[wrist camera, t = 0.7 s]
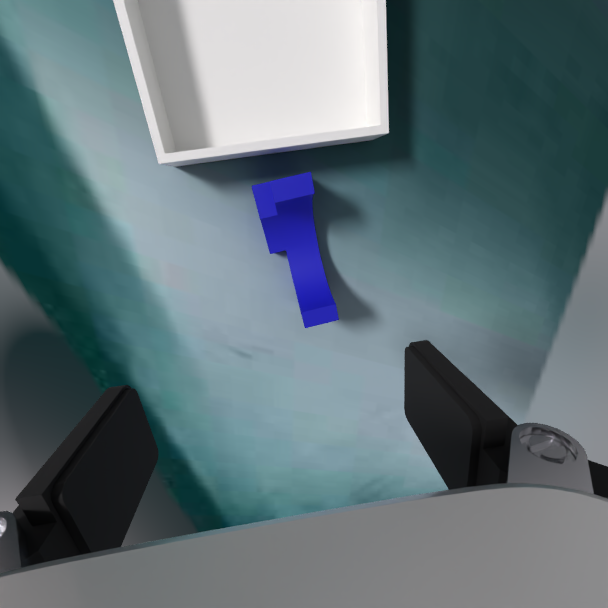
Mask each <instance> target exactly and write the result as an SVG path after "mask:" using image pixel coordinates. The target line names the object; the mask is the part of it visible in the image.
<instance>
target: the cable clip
mask: <svg viewBox="0 0 608 608" xmlns="http://www.w3.org/2000/svg"><path fill="white" fill-rule="evenodd" d="M252 190H253V194H254V197H255V201H256V205H257V209H258V213H259V216H260V220H261V223H262V227H263V230H264V233H265V237H266V240H267V244H268V248H269V251H270V254H272V253H277V252H281V251H285V250H286V253H287V257H288V261H289V265H290V269H291V274H292V278H293V282H294V286H295V290H296V294H297V299H298V303H299V307H300V311H301V314H302V318H303V322H304V326H305V328H308V327H312V326H316V325H320V324H324V323H328V322H332V321H336V320H339V318H338V313H337V308H336V304H335V302H334V299H333V297H332V294H331V292H330V289H329V286H328V283H327V279H326V276H325V272H324V269H323V265H322V261H321V256H320V252H319V247H318V242H317V237H316V231H315V225H314V218H313V207H312V199H313V194H315V192H314V187H313V181H312V176H311V172H307V173H303V174H299V175H295V176H290V177H286V178H282V179H277V180H273V181H270V182H266V183H262V184H257V185H253V186H252Z"/></svg>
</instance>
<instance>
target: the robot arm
mask: <svg viewBox="0 0 608 608" xmlns="http://www.w3.org/2000/svg"><path fill="white" fill-rule="evenodd" d="M404 409H405V415H406V418H407V420H408V422H409V423H410V425H411V427H412V428H413V430H414V432H415V433H416V435H417V437H418V438H419V440H420V442H421V443H422V445H423V447H424V448H425V450H426V452H427V454H428V455H429V457H430V459H431V460H432V462H433V464H434V465H435V467H436V469H437V470H438V472H439V474H440V475H441V477H442V479H443V480H444V482H445V484H446V485H447V487H448V489H449V490H445V491H438V492H432V493H425V494H419V495H412V496H406V497H400V498H394V499H388V500H382V501H377V502H371V503H365V504H359V505H353V506H347V507H342V508H336V509H330V510H324V511H318V512H313V513H307V514H301V515H296V516H290V517H284V518H279V519H273V520H267V521H262V522H256V523H250V524H245V525H239V526H234V527H228V528H222V529H217V530H211V531H206V532H200V533H195V534H189V535H184V536H179V537H173V538H167V539H162V540H157V541H151V542H146V543H140V544H135V545H129V546H124V547H121V545H122V542H123V540H124V538H125V535H126V533H127V531H128V528H129V526H130V524H131V521H132V519H133V517H134V514H135V512H136V509H137V507H138V505H139V502H140V500H141V498H142V495H143V493H144V491H145V488H146V486H147V484H148V481H149V479H150V477H151V474H152V472H153V470H154V467H155V465H156V463H157V460H158V448H157V445H156V443H155V440H154V437H153V434H152V432H151V429H150V426H149V423H148V421H147V418H146V415H145V412H144V410H143V407H142V404H141V401H140V399H139V396H138V393H137V391H136V390H135V389H131V387H130V386H128V385H124V386H117V387H111V388H108V389H107V390H106V391H105V392H104V393H103V395H102V396H101V397H100V398H99V399H98V401H97V402H96V403H95V404H94V405H93V407H92V408H91V409H90V410H89V411H88V412H87V414H86V415H85V416H84V417H83V418H82V420H81V421H80V422H79V423H78V425H77V426H76V427H75V428H74V429H73V431H72V432H71V433H70V434H69V435H68V437H67V438H66V439H65V440H64V441H63V442H62V444H61V445H60V446H59V447H58V448H57V450H56V451H55V452H54V453H53V455H52V456H51V457H50V458H49V459H48V461H47V462H46V463H45V464H44V465H43V467H42V468H41V469H40V470H39V471H38V472H37V474H36V475H35V476H34V477H33V479H32V480H31V481H30V482H29V483H28V485H27V486H26V487H25V488H24V489H23V490H22V492H21V493H20V494H19V495H18V496H17V498H16V501H17V503H18V504H19V506H18V507H17V508H16V509H15V511H14V512H13V513H12V512H9V511H0V608H608V467H607V466H604V465H601V464H598V463H595V462H592V461H589V460H588V459H587V455H586V452H585V450H584V448H583V447H582V446H581V445H580V444H579V442H578V441H576V440H575V439H574V438H572V437H571V436H570V435H568V434H566V433H565V432H563V431H561V430H559V429H557V428H554V427H551V426H548V425H543V424H538V423H524V424H520V425H517V424H516V423H515V422H514V421H513V420H512V419H511V418H509V417H508V416H507V415H506V414H505V413H504V412H503V411H502V410H501V409H500V408H499V407H498V406H497V405H496V404H495V403H494V402H493V401H492V400H491V399H489V398H488V397H487V396H486V395H485V394H484V393H483V392H482V391H481V390H480V389H479V388H478V387H477V386H476V385H475V384H474V383H473V382H472V381H470V380H469V379H468V378H467V377H466V376H465V375H464V374H463V373H462V372H461V371H460V370H458V369H457V368H456V367H455V366H454V365H453V364H452V363H451V362H450V361H449V360H448V359H447V358H446V357H445V356H444V355H443V354H442V353H441V352H440V351H438V350H437V349H436V348H435V347H434V346H433V345H432V344H431V343H430V342H429V341H427V340H424V341H418V342H411V343H410V345H409V347H406V348H405V401H404Z"/></svg>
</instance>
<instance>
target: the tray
mask: <svg viewBox="0 0 608 608" xmlns="http://www.w3.org/2000/svg"><path fill="white" fill-rule="evenodd" d="M113 1H114V5H115V8H116V12H117V15H118V19H119V23H120V26H121V30H122V33H123V37H124V40H125V44H126V48H127V51H128V55H129V58H130V62H131V66H132V69H133V73H134V76H135V80H136V83H137V87H138V91H139V94H140V98H141V101H142V105H143V108H144V112H145V116H146V119H147V123H148V126H149V130H150V134H151V137H152V141H153V144H154V148H155V151H156V155H157V159H158V162H159V164H163V165H168V166H173V167H177V166H184V165H192V164H199V163H207V162H214V161H221V160H229V159H236V158H244V157H251V156H258V155H266V154H273V153H281V152H288V151H296V150H303V149H310V148H318V147H325V146H333V145H340V144H347V143H355V142H362V141H370V140H374V139H376V138H378V137H381V136H383V135H385V134H388V133H389V117H388V74H387V30H386V0H113Z"/></svg>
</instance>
